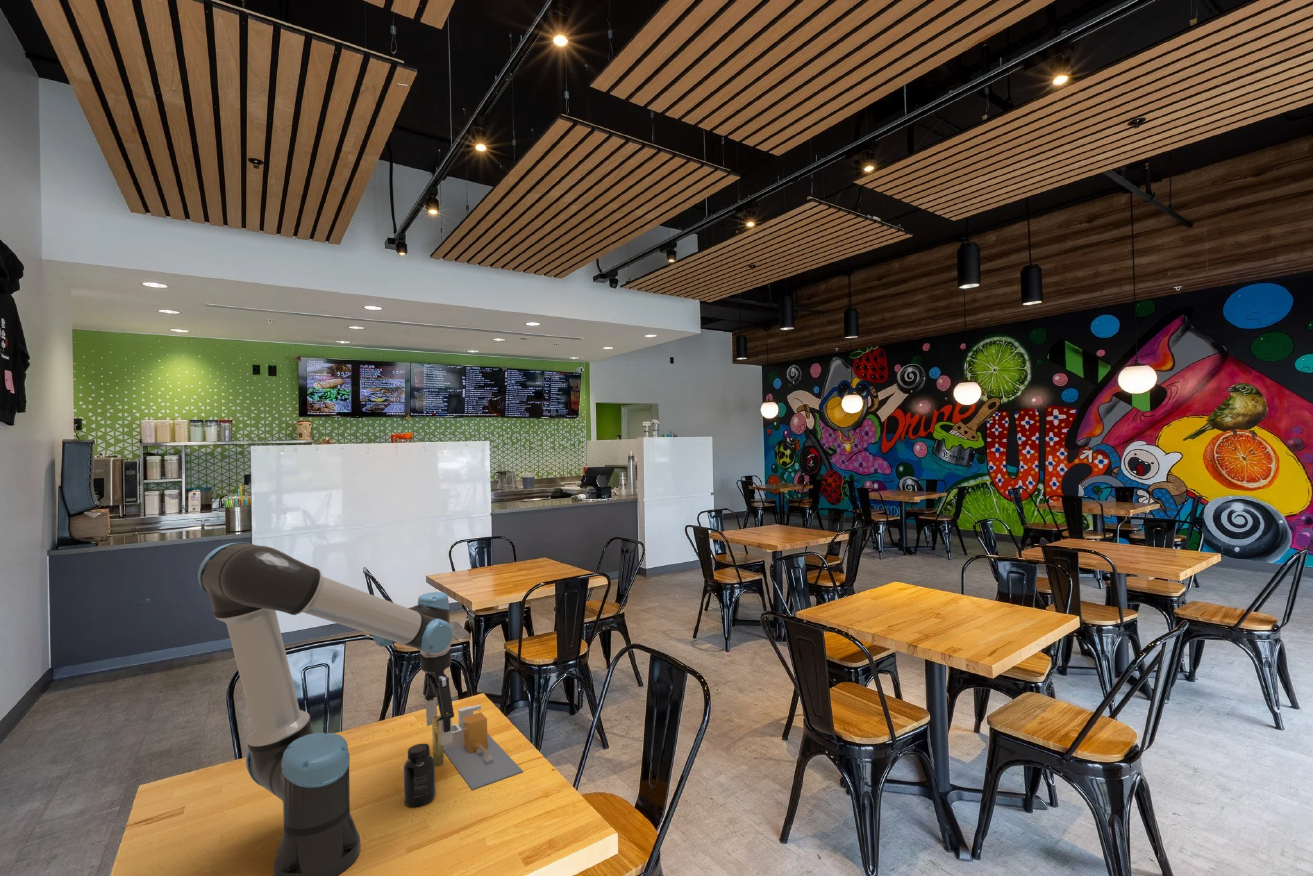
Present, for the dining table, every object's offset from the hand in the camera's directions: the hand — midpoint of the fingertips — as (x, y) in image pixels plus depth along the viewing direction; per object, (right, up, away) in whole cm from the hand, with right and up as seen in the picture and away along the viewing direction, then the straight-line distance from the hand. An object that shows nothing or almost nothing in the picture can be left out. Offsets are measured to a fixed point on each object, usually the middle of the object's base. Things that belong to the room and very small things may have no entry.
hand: (439, 733), depth 158 cm
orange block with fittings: (+10, -7, +4) cm, 13 cm away
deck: (+10, -8, +3) cm, 12 cm away
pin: (0, -8, 0) cm, 8 cm away
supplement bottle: (+2, -8, -17) cm, 18 cm away
